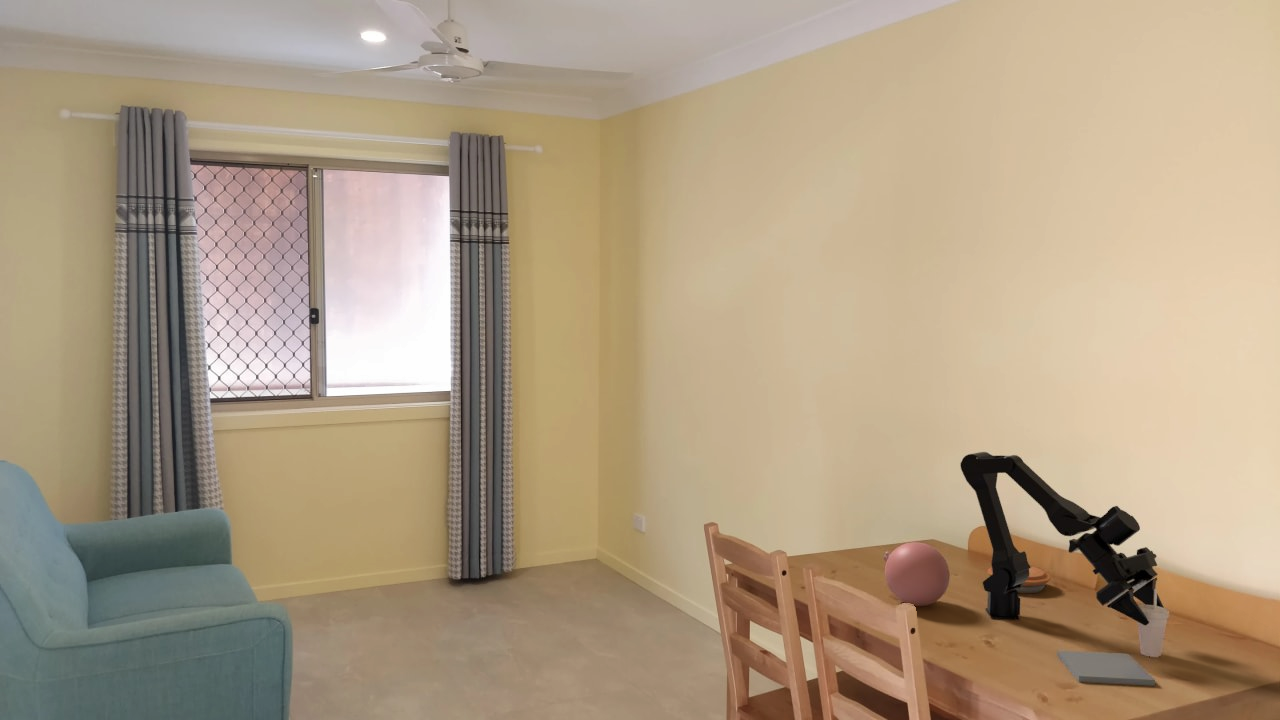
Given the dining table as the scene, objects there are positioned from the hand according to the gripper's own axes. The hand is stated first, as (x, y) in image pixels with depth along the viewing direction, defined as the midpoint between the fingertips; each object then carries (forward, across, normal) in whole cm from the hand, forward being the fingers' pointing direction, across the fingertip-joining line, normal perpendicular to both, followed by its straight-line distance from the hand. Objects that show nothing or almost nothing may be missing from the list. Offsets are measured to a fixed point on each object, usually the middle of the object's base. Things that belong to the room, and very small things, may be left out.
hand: (1156, 619), depth 198 cm
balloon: (-33, -7, +44) cm, 55 cm away
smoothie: (+5, 0, +6) cm, 8 cm away
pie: (-25, +26, +36) cm, 51 cm away
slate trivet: (+3, -17, +8) cm, 19 cm away
